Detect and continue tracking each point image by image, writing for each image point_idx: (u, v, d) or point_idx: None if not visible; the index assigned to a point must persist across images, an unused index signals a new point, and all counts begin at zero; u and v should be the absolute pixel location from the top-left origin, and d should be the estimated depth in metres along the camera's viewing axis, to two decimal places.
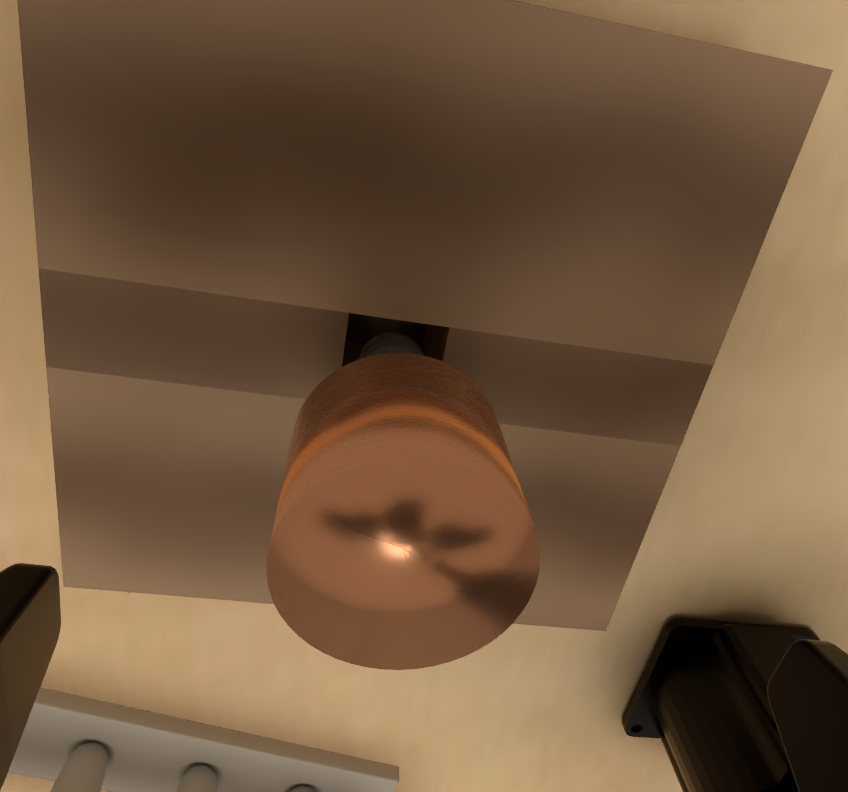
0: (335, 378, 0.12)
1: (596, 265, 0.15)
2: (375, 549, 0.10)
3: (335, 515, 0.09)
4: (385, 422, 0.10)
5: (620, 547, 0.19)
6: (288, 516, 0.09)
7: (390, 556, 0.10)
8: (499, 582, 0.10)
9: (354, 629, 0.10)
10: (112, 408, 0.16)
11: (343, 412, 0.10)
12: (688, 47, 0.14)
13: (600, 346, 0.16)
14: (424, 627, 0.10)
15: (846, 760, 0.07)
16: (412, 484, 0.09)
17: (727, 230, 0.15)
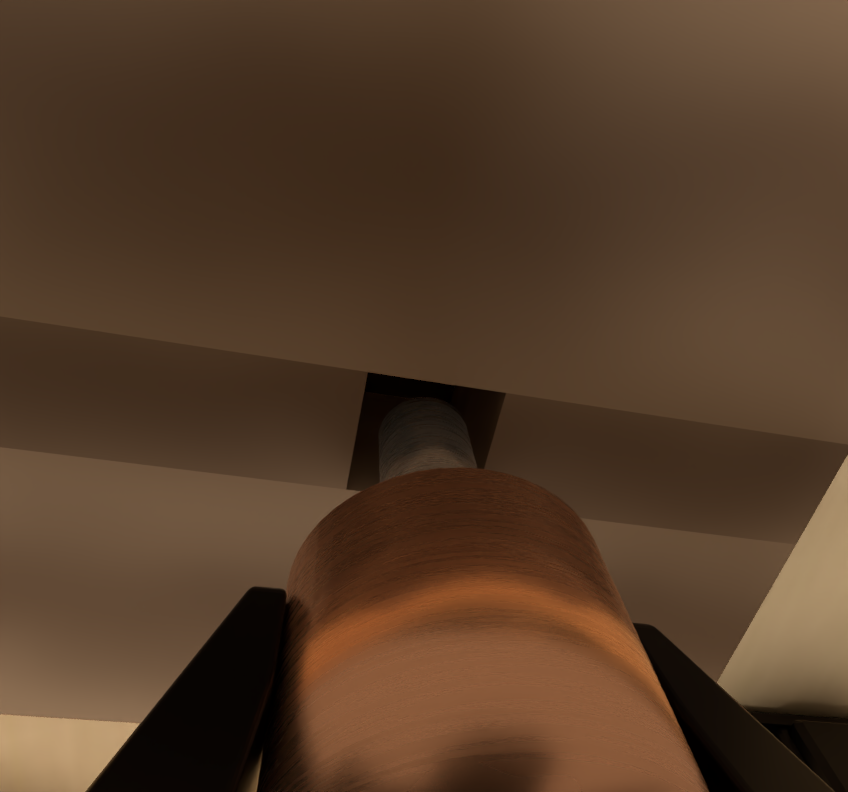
0: (358, 512, 0.07)
1: (715, 313, 0.11)
2: None
3: None
4: (462, 646, 0.05)
5: (703, 663, 0.15)
6: None
7: None
8: None
9: None
10: (34, 494, 0.12)
11: (379, 600, 0.06)
12: None
13: (707, 419, 0.12)
14: None
15: None
16: None
17: None
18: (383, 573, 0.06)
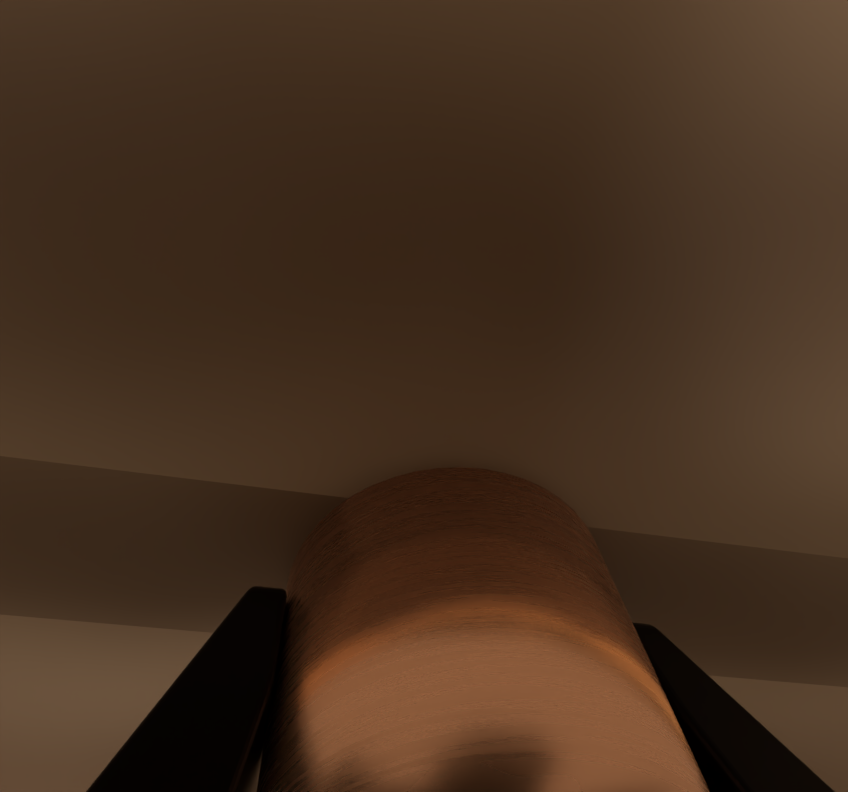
0: (358, 512, 0.07)
1: None
2: None
3: None
4: (462, 646, 0.05)
5: None
6: None
7: None
8: None
9: None
10: None
11: (379, 600, 0.06)
12: None
13: (827, 551, 0.09)
14: None
15: None
16: None
17: None
18: (383, 573, 0.06)
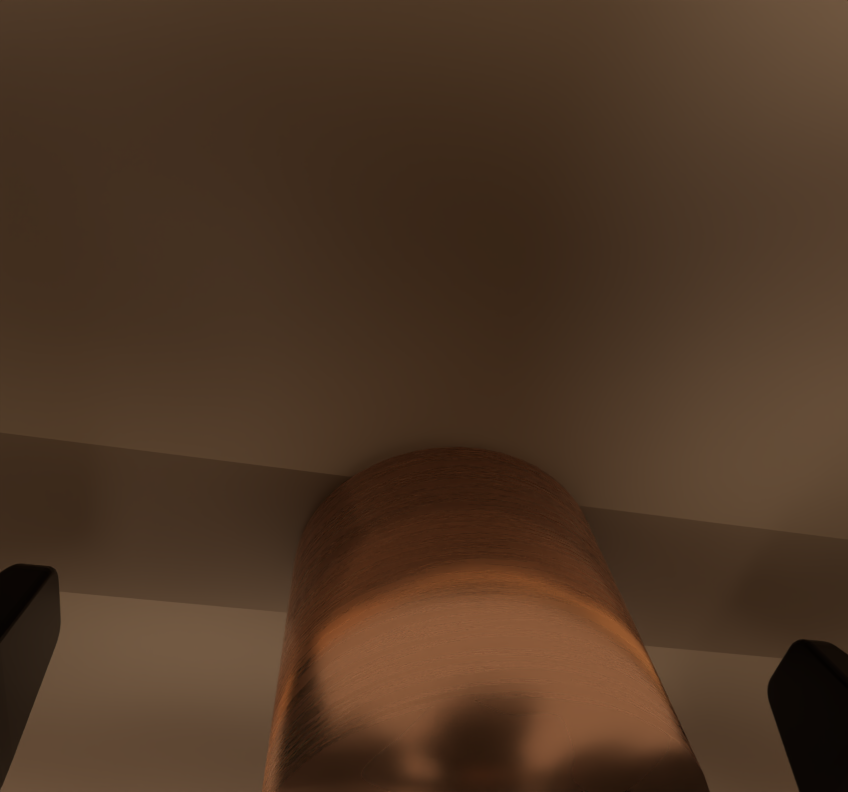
0: (362, 489, 0.08)
1: (828, 403, 0.08)
2: None
3: (377, 780, 0.05)
4: (459, 603, 0.06)
5: None
6: (293, 784, 0.05)
7: None
8: None
9: None
10: None
11: (382, 565, 0.07)
12: None
13: (807, 530, 0.09)
14: None
15: (846, 760, 0.07)
16: (517, 735, 0.05)
17: None
18: (386, 541, 0.07)
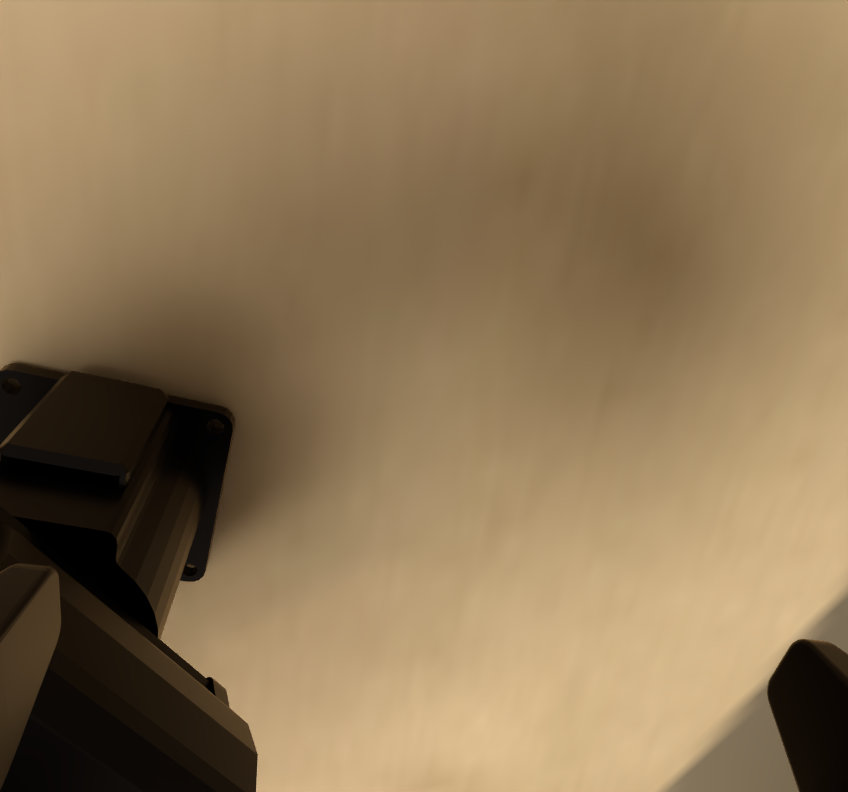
0: None
1: None
2: None
3: None
4: None
5: None
6: None
7: None
8: None
9: None
10: None
11: None
12: None
13: None
14: None
15: (846, 760, 0.07)
16: None
17: None
18: None
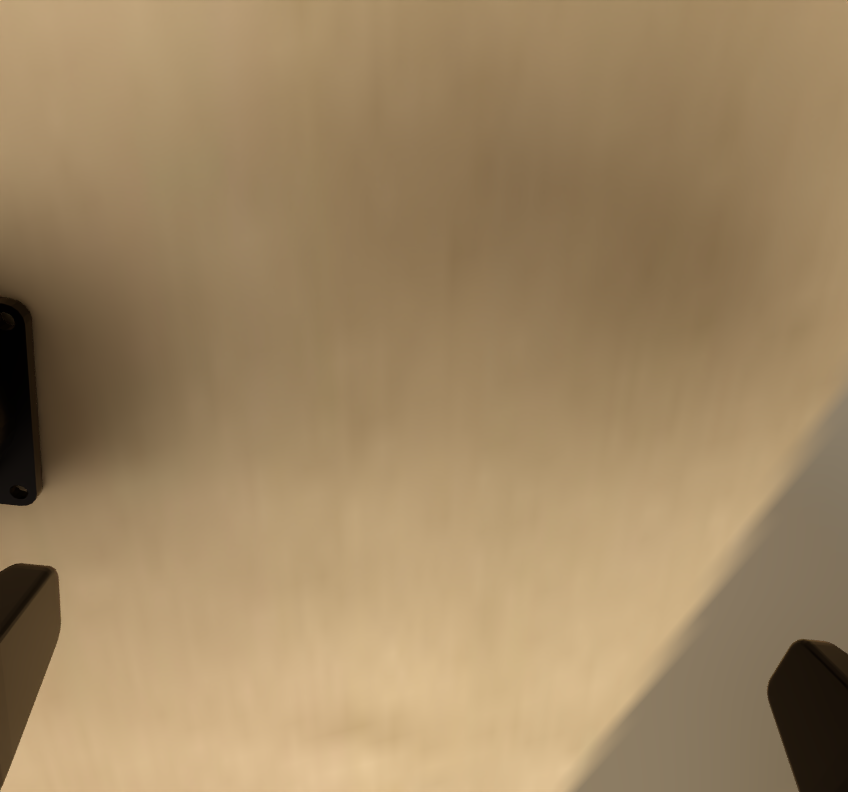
0: None
1: None
2: None
3: None
4: None
5: None
6: None
7: None
8: None
9: None
10: None
11: None
12: None
13: None
14: None
15: (846, 760, 0.07)
16: None
17: None
18: None
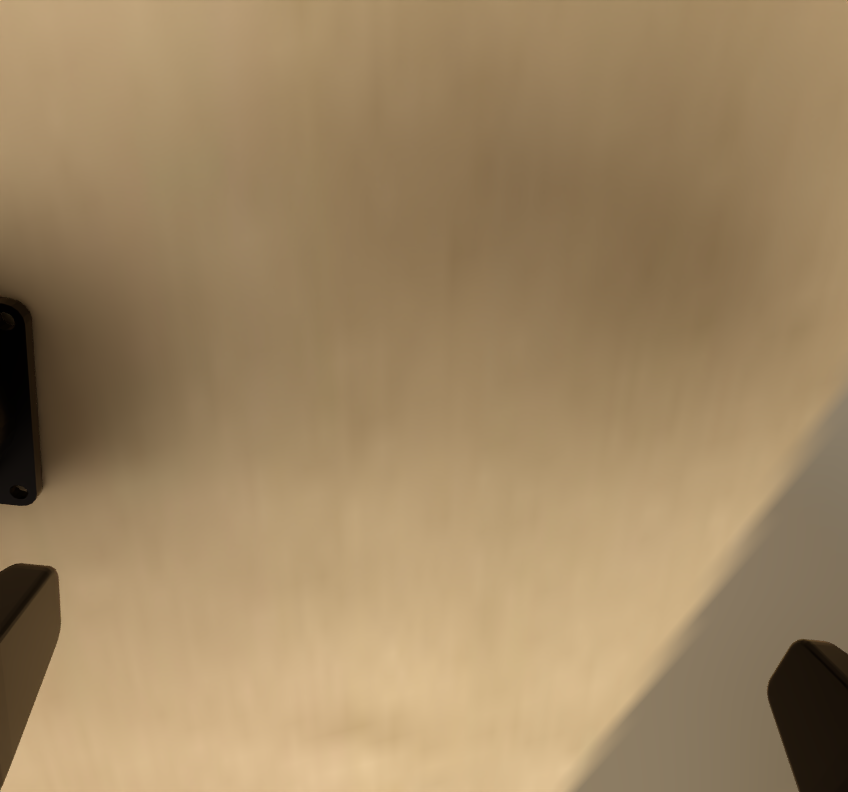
0: None
1: None
2: None
3: None
4: None
5: None
6: None
7: None
8: None
9: None
10: None
11: None
12: None
13: None
14: None
15: (846, 760, 0.07)
16: None
17: None
18: None
